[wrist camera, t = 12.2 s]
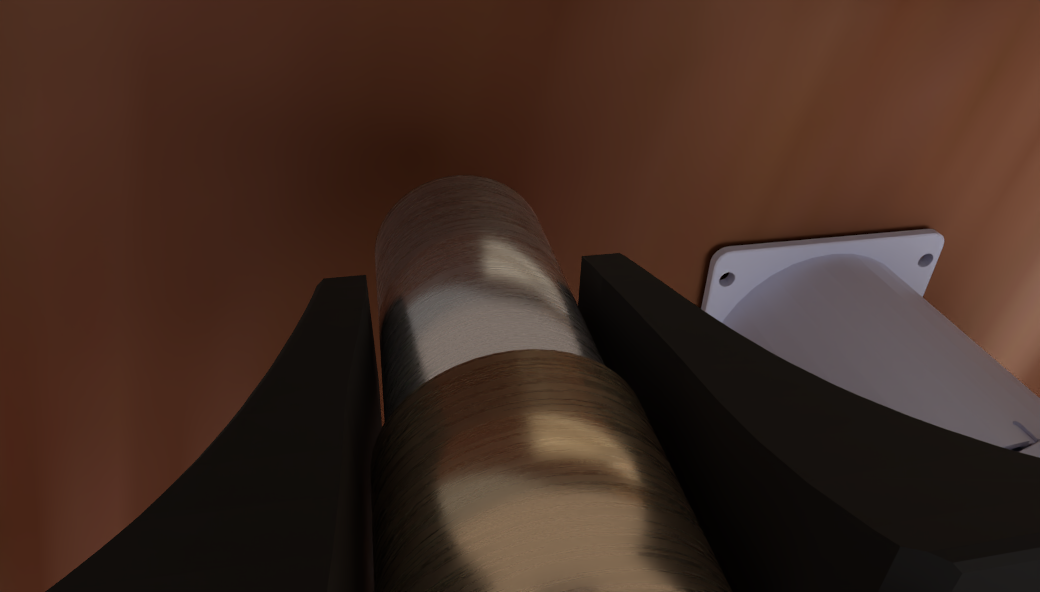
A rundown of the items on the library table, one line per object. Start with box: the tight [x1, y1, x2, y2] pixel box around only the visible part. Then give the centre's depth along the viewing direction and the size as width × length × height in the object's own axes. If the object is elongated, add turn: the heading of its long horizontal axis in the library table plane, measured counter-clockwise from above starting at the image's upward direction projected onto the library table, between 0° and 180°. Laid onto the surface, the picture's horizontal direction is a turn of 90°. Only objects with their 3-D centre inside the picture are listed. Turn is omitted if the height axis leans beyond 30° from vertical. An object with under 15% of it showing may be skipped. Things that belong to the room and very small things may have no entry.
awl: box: [370, 175, 732, 592], centre depth 10 cm, size 3×3×8 cm
